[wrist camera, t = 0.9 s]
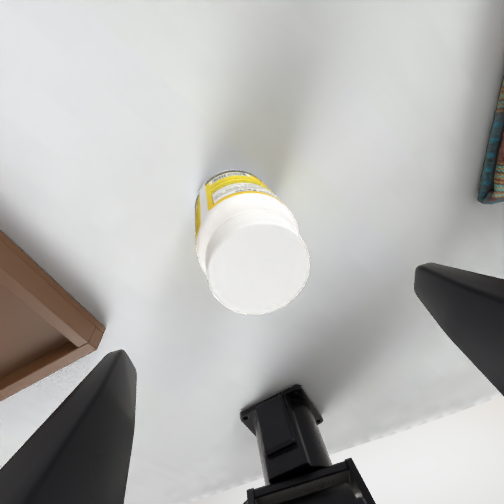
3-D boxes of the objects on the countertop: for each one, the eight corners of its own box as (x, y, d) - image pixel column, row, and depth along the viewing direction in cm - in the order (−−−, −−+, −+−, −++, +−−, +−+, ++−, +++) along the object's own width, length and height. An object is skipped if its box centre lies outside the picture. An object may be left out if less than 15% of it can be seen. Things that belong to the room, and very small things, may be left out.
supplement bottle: (239, 253, 20) (266, 340, 12) (180, 215, 18) (168, 291, 10) (285, 197, 18) (344, 257, 11) (225, 150, 17) (250, 184, 9)
